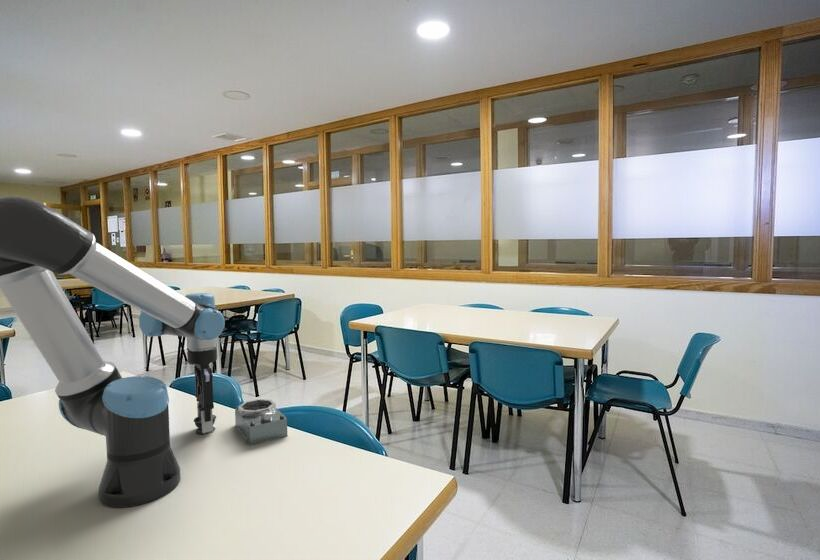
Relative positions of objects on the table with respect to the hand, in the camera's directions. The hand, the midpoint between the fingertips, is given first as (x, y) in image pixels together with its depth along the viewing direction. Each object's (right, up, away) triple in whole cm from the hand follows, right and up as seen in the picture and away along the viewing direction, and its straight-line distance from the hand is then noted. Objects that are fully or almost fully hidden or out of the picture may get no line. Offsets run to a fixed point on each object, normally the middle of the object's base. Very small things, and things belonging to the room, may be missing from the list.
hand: (205, 427), depth 124 cm
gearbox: (+16, -1, 0) cm, 16 cm away
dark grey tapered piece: (0, -1, 0) cm, 1 cm away
